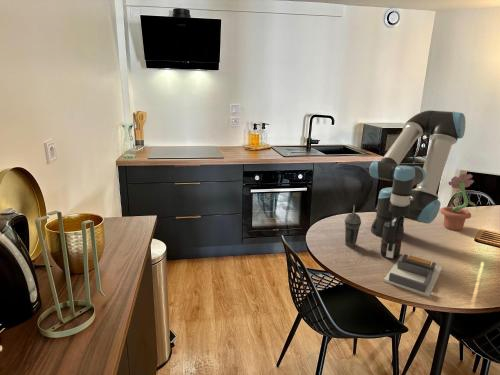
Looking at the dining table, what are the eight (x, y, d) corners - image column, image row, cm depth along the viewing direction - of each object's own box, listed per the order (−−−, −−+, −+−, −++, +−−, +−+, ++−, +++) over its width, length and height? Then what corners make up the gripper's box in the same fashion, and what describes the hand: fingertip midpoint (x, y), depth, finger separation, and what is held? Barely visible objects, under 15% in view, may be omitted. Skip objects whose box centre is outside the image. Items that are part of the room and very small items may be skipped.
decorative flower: (463, 223, 187) (475, 170, 179) (474, 234, 174) (487, 177, 166) (434, 221, 190) (444, 168, 181) (443, 231, 177) (454, 175, 168)
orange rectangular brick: (406, 264, 142) (407, 258, 141) (408, 261, 145) (409, 255, 144) (428, 270, 138) (429, 264, 137) (429, 267, 140) (430, 261, 139)
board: (383, 281, 132) (384, 272, 131) (400, 257, 150) (402, 249, 149) (429, 296, 123) (431, 287, 121) (441, 269, 141) (443, 260, 140)
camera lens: (398, 263, 145) (403, 230, 140) (377, 258, 149) (382, 226, 144) (400, 255, 152) (405, 224, 147) (381, 251, 155) (385, 220, 151)
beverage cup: (359, 243, 163) (364, 203, 157) (357, 249, 157) (362, 208, 151) (343, 240, 166) (347, 200, 160) (340, 246, 160) (345, 205, 154)
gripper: (402, 212, 132) (394, 265, 139) (415, 199, 148) (407, 247, 155) (382, 208, 136) (375, 260, 143) (397, 195, 152) (390, 242, 159)
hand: (392, 253), depth 149 cm, fingers closed on camera lens, 8 cm apart
